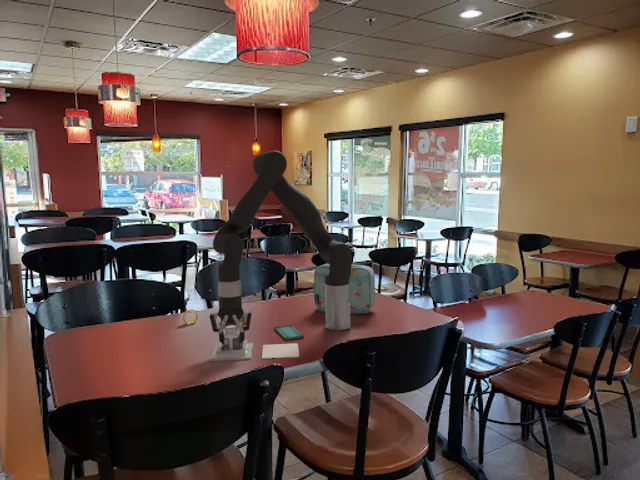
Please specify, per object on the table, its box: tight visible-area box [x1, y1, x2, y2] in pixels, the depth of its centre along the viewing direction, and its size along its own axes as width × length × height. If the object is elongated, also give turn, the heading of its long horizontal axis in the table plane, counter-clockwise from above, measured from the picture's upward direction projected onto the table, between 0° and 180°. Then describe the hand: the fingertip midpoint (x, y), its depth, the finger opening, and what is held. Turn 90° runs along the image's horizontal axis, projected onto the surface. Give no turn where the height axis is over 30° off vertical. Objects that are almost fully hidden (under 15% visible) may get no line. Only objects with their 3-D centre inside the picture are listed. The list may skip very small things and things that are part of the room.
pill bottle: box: [223, 325, 240, 350], centre depth 161 cm, size 5×5×9 cm
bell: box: [219, 315, 247, 327], centre depth 195 cm, size 12×12×7 cm
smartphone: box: [273, 324, 305, 342], centre depth 180 cm, size 7×1×15 cm
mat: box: [261, 342, 300, 360], centre depth 162 cm, size 12×12×1 cm
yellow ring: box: [182, 307, 199, 325], centre depth 194 cm, size 6×3×6 cm, turn 127°
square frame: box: [209, 339, 254, 362], centre depth 162 cm, size 13×13×2 cm
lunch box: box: [311, 263, 376, 315], centre depth 206 cm, size 27×10×21 cm, turn 73°
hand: (232, 342), depth 161 cm, fingers open, 5 cm apart
